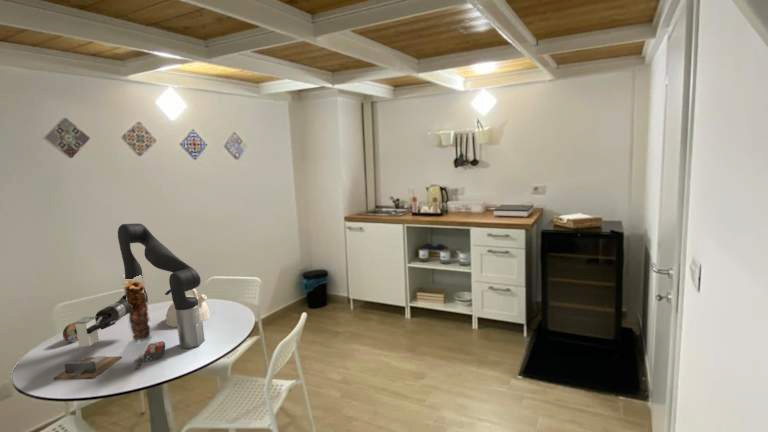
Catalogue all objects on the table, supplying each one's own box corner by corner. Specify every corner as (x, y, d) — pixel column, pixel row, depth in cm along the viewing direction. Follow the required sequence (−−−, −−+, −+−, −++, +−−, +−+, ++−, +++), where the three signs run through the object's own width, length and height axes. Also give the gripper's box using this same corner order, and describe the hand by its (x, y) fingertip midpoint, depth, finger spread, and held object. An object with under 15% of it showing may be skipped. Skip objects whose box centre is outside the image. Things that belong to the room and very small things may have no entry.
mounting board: (122, 357, 176) (121, 356, 175) (94, 378, 160) (94, 376, 160) (84, 358, 176) (84, 357, 176) (53, 379, 160) (53, 377, 160)
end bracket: (96, 370, 164) (94, 361, 164) (93, 372, 163) (91, 363, 162) (69, 371, 165) (67, 361, 164) (66, 373, 163) (64, 363, 163)
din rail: (105, 357, 175) (105, 356, 175) (80, 375, 161) (79, 373, 161) (97, 358, 175) (97, 356, 175) (71, 376, 161) (71, 374, 161)
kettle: (200, 326, 204) (195, 290, 202) (157, 328, 205) (152, 292, 202) (216, 310, 224) (213, 277, 222) (178, 312, 225) (174, 279, 222)
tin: (68, 345, 190) (65, 327, 189) (63, 345, 191) (59, 327, 190) (97, 331, 205) (94, 314, 203) (91, 330, 205) (89, 314, 204)
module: (98, 340, 171) (95, 316, 169) (89, 345, 166) (85, 321, 164) (88, 340, 171) (84, 316, 170) (79, 346, 166) (74, 321, 165)
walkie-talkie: (143, 350, 182) (134, 372, 164) (142, 340, 182) (132, 361, 163) (166, 346, 185) (159, 367, 167) (165, 336, 184) (158, 356, 166)
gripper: (93, 306, 181) (62, 323, 165) (126, 305, 181) (97, 322, 164) (96, 323, 183) (65, 341, 166) (128, 322, 182) (100, 340, 165)
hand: (81, 331), depth 165 cm, fingers closed on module, 4 cm apart
